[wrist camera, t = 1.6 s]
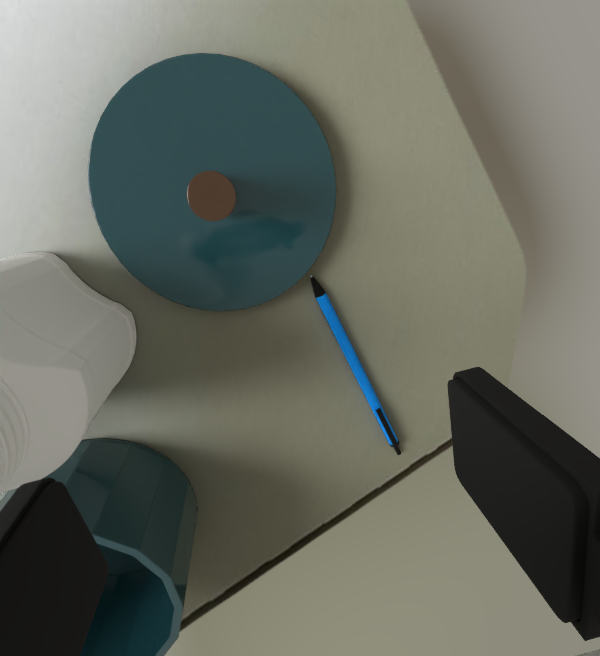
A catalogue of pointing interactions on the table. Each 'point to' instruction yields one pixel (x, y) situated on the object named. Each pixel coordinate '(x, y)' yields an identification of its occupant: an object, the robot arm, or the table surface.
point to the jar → (53, 362)
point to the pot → (133, 542)
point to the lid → (212, 182)
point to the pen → (354, 363)
